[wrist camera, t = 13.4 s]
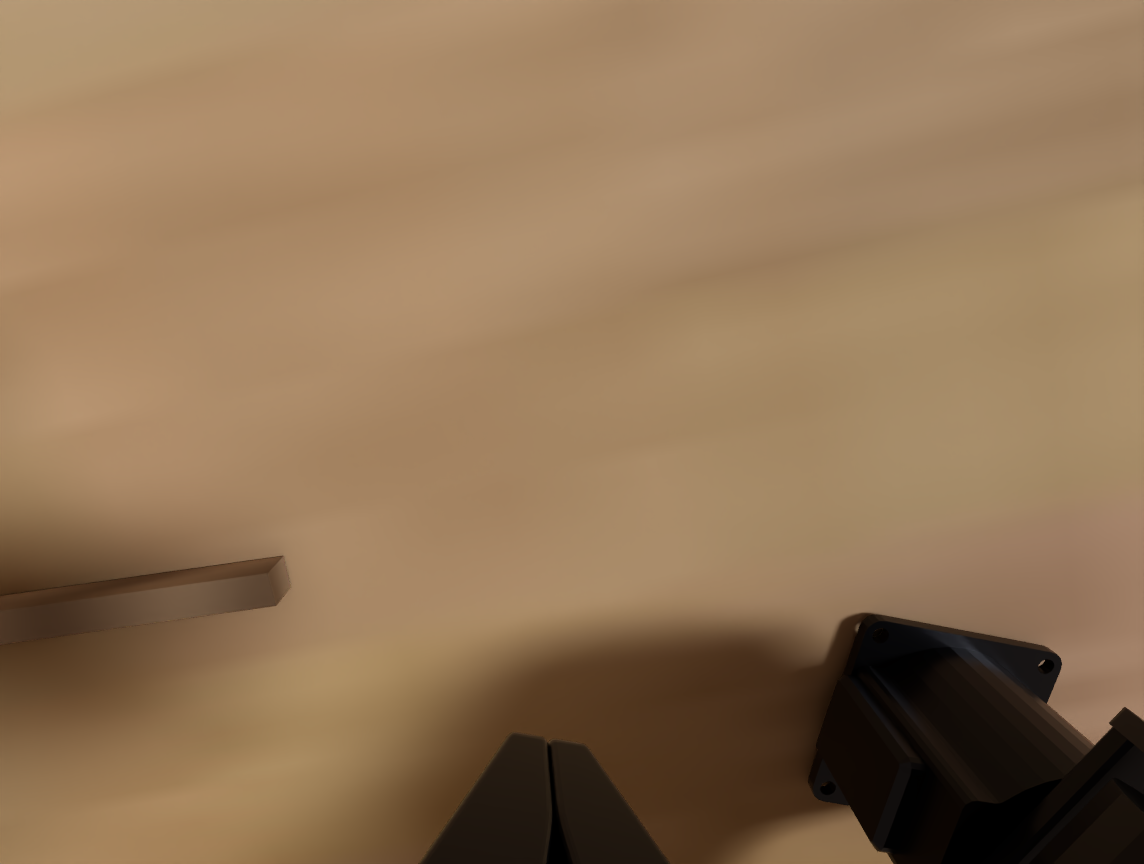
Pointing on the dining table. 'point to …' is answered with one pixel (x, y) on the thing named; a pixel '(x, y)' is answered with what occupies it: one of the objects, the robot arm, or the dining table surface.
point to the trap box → (142, 600)
